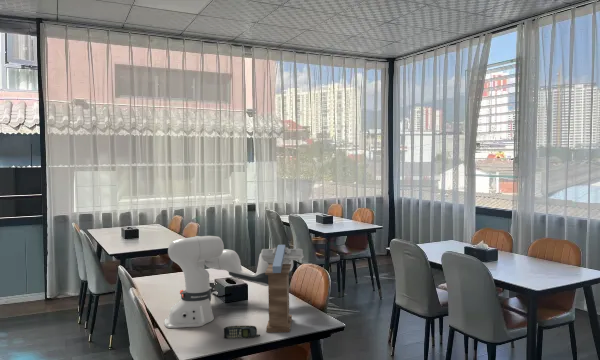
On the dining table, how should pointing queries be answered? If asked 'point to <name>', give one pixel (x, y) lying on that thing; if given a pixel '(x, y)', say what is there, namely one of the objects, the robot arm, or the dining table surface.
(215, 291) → the graphics card
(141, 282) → the dining table surface
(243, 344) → the dining table surface
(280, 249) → the batten
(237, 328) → the mobile phone
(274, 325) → the pedestal
